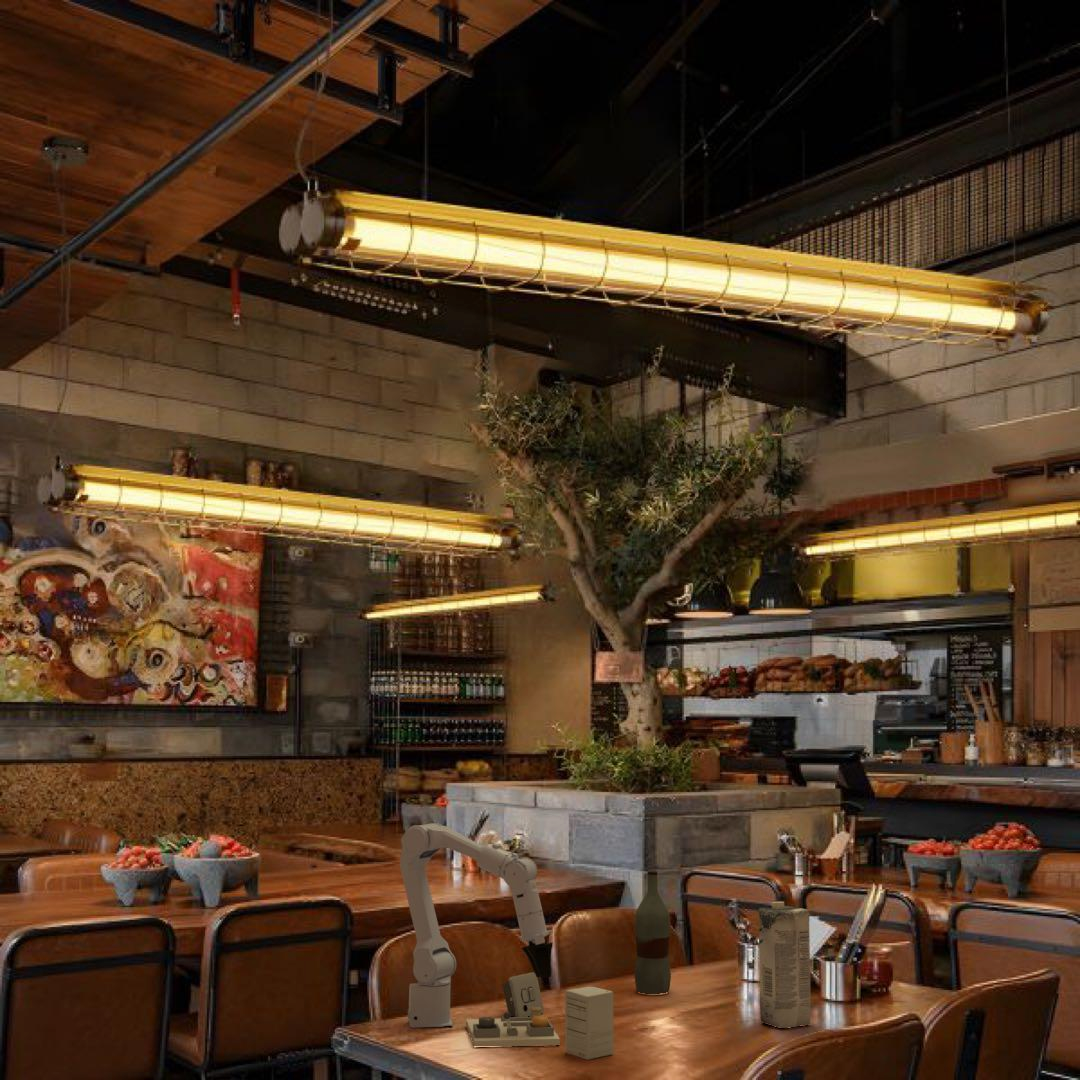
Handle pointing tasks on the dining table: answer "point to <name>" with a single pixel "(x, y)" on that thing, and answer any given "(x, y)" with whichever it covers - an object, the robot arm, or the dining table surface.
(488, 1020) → the black button
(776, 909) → the juice carton
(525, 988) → the electrical switch
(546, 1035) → the control panel
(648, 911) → the bottle
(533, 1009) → the brass slider
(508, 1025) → the toggle lever
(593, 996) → the supplement box
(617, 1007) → the dining table surface
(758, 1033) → the dining table surface
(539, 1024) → the orange button
